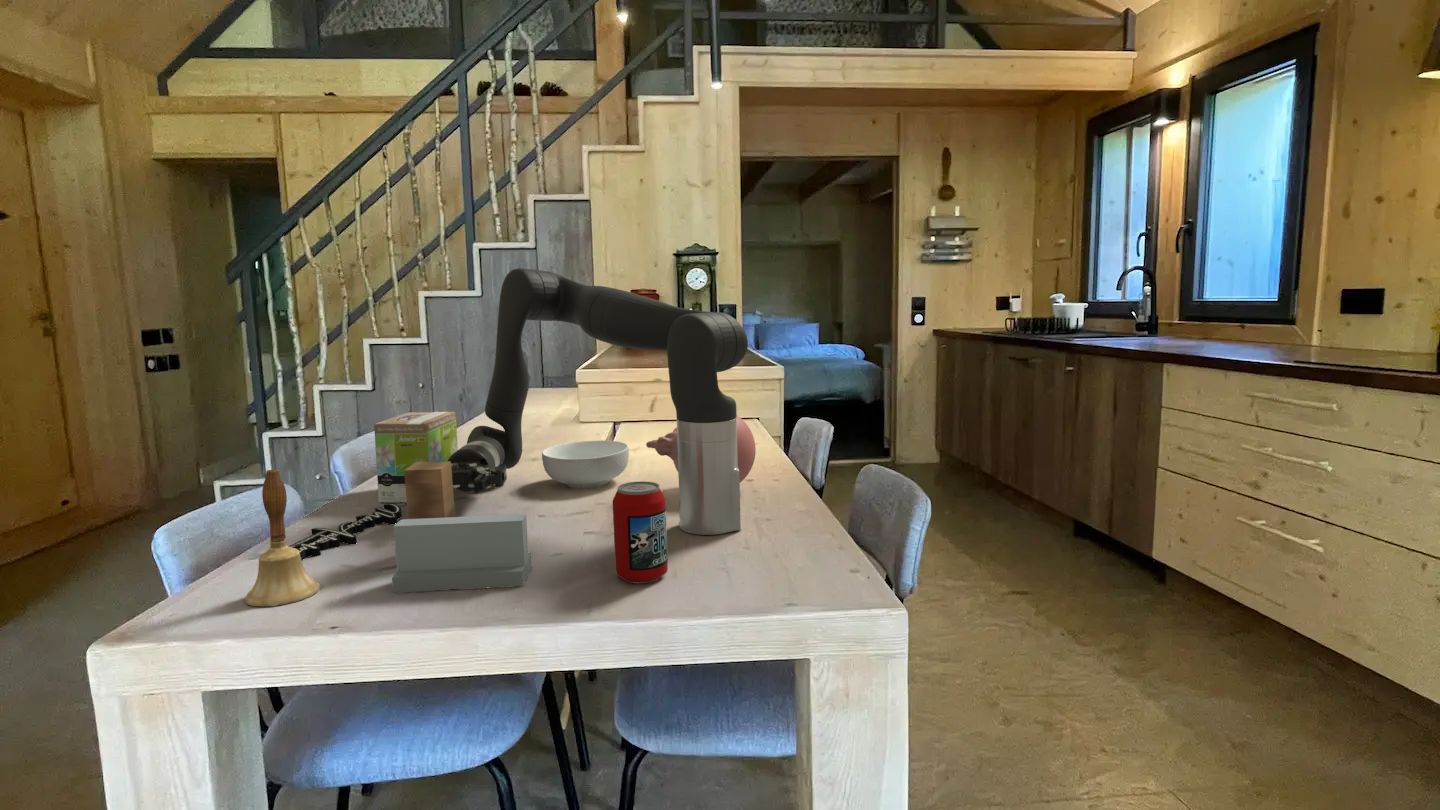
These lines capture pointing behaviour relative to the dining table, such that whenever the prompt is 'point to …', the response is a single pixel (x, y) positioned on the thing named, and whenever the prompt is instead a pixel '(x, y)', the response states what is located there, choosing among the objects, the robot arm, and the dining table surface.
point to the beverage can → (640, 532)
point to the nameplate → (345, 531)
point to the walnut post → (429, 490)
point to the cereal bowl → (585, 462)
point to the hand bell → (279, 556)
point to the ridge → (461, 553)
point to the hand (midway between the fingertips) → (448, 488)
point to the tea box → (411, 447)
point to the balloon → (744, 447)
